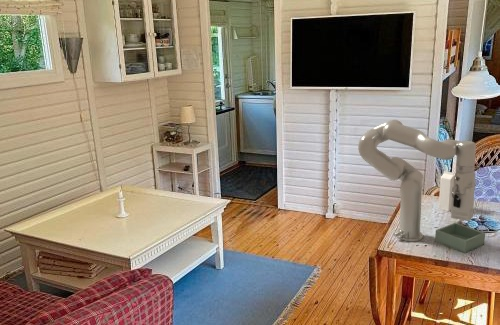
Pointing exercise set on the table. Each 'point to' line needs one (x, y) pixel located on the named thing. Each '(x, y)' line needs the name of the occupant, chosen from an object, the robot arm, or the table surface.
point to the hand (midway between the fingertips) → (462, 204)
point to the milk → (446, 191)
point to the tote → (460, 237)
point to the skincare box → (464, 206)
